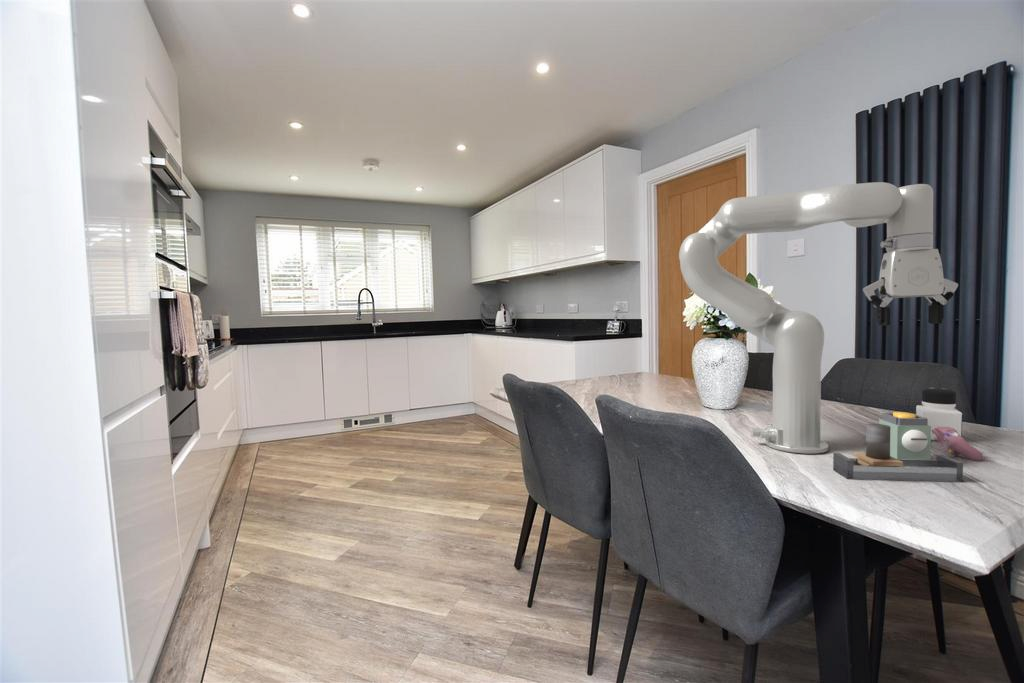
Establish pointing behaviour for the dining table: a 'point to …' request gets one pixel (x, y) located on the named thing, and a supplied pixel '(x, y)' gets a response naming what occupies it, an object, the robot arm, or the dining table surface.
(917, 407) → the medicine bottle
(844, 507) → the dining table surface
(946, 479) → the track
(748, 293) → the robot arm
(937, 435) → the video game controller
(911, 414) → the button
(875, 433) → the carriage
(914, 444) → the gauge cabinet
